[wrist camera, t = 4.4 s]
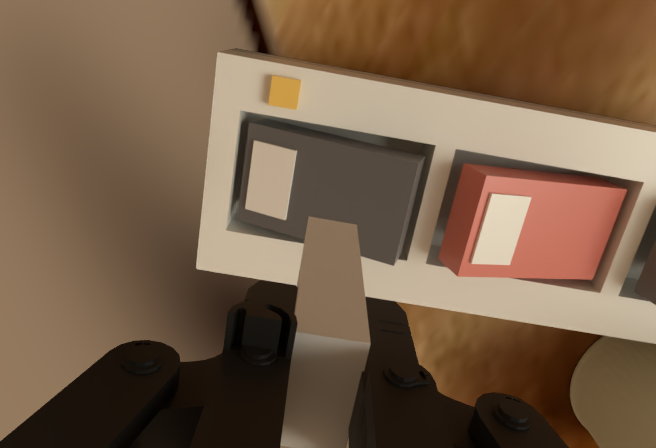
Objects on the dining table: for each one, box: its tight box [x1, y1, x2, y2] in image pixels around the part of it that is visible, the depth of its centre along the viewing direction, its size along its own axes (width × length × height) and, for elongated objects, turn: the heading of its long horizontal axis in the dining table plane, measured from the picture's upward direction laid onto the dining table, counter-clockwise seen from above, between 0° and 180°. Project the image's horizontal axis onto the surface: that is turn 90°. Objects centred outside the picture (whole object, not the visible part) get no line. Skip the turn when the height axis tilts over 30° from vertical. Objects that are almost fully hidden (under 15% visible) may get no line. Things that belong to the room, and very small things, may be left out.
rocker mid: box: [438, 163, 627, 280], centre depth 24 cm, size 8×5×2 cm, turn 80°
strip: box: [196, 48, 656, 344], centre depth 27 cm, size 38×10×5 cm, turn 80°
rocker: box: [237, 118, 425, 266], centre depth 24 cm, size 8×5×2 cm, turn 80°
